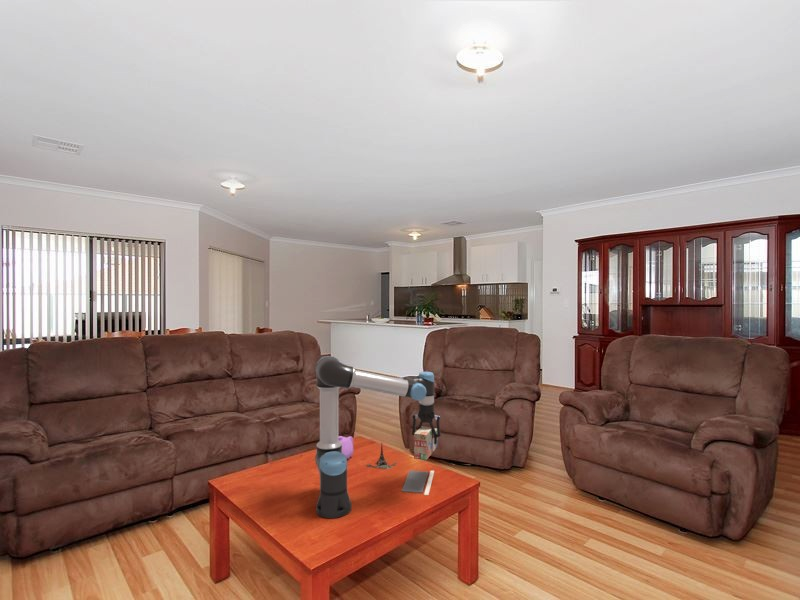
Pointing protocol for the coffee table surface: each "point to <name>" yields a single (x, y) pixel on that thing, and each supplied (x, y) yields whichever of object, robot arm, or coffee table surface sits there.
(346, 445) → the teapot
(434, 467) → the coffee table surface
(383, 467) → the eiffel tower figurine
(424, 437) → the stack of blocks
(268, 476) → the coffee table surface
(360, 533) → the coffee table surface
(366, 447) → the coffee table surface
